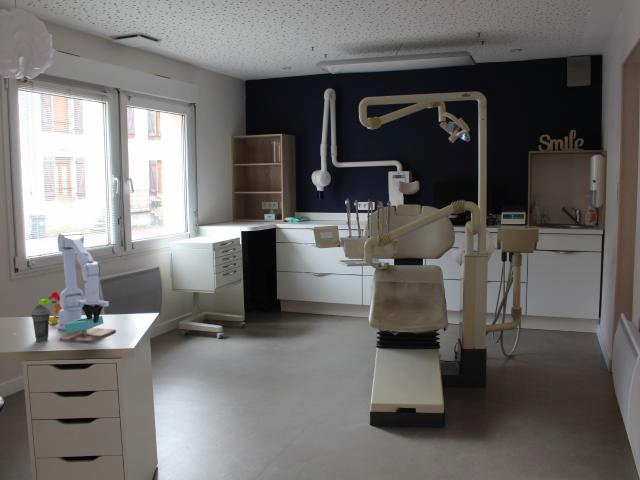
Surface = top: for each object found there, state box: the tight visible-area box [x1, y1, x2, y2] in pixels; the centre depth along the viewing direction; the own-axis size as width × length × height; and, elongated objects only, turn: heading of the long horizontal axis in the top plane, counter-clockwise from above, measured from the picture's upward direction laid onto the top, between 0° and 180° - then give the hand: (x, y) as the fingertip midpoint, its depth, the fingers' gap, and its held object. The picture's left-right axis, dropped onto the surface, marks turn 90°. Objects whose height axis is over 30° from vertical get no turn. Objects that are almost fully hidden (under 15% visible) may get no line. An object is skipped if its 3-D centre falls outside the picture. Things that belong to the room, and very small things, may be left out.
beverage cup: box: [30, 293, 51, 343], centre depth 269 cm, size 7×7×20 cm
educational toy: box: [39, 291, 62, 325], centre depth 304 cm, size 16×13×15 cm
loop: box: [65, 315, 104, 333], centre depth 274 cm, size 11×11×4 cm
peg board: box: [59, 327, 117, 344], centre depth 277 cm, size 15×19×6 cm
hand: (93, 322), depth 272 cm, fingers closed on loop, 2 cm apart
